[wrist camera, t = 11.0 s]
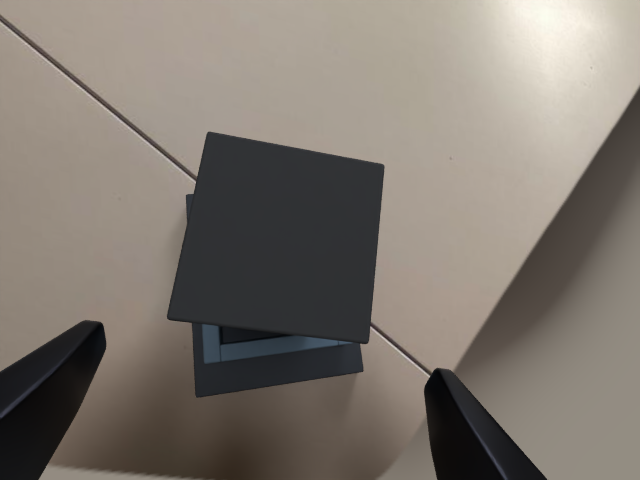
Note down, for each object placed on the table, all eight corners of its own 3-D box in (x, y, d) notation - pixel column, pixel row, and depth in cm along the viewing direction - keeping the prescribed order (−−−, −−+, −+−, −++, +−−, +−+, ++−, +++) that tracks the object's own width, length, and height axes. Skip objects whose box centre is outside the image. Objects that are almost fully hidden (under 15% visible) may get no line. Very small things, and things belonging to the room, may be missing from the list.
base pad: (359, 369, 21) (372, 376, 18) (198, 394, 19) (189, 405, 17) (335, 190, 23) (344, 175, 20) (189, 199, 21) (179, 184, 19)
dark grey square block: (307, 327, 20) (369, 344, 8) (225, 317, 19) (165, 319, 7) (317, 249, 21) (385, 163, 9) (240, 237, 20) (206, 129, 8)
